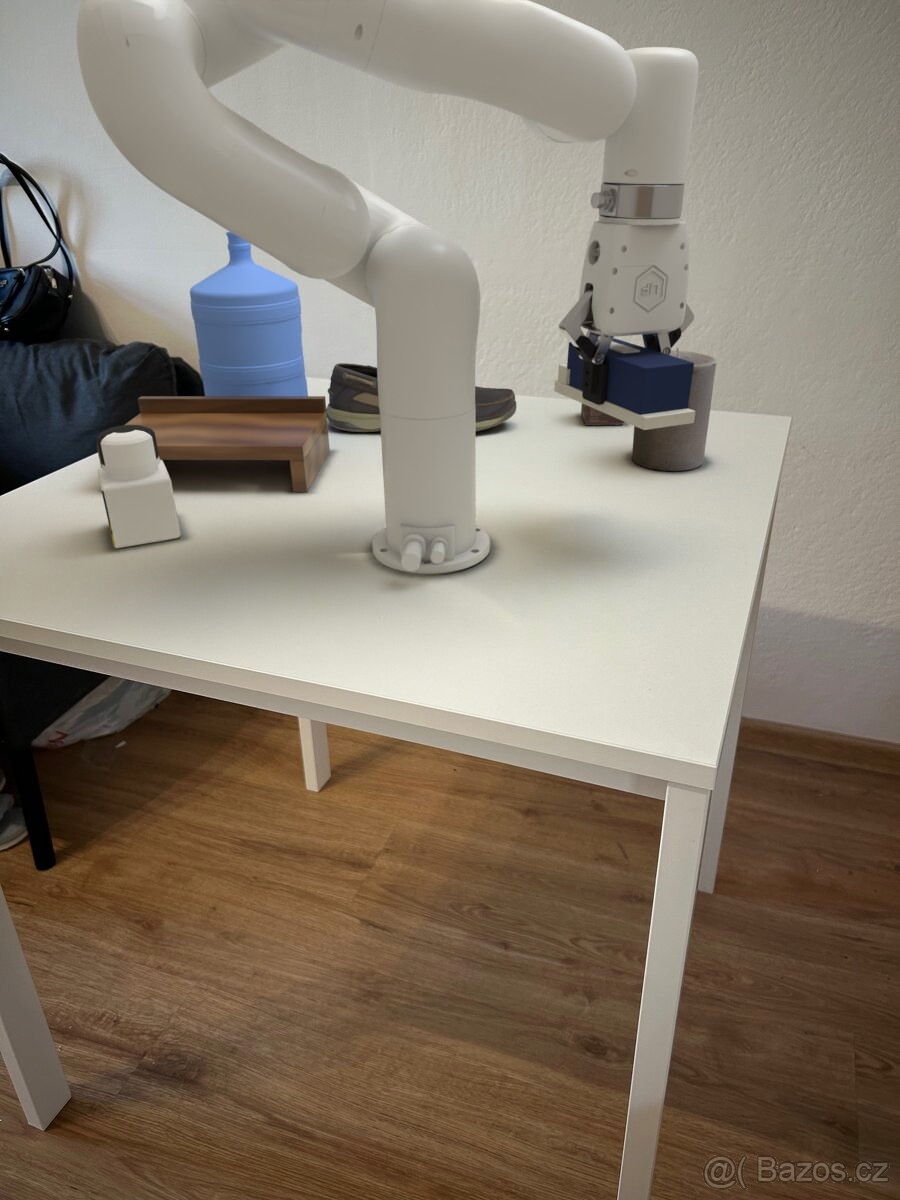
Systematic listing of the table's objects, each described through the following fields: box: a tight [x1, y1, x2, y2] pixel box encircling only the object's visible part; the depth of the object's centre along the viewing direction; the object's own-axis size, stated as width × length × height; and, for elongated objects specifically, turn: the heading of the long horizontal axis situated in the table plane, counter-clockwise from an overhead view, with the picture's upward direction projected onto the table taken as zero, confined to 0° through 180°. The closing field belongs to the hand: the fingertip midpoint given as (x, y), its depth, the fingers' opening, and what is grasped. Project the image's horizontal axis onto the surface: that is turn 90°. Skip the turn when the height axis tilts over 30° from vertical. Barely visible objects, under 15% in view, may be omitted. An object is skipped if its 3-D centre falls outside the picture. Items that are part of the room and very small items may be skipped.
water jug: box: [189, 231, 309, 396], centre depth 127 cm, size 16×16×28 cm
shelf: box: [96, 395, 331, 493], centre depth 114 cm, size 16×26×8 cm, turn 87°
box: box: [580, 403, 625, 426], centre depth 133 cm, size 6×6×7 cm
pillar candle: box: [630, 347, 718, 472], centre depth 114 cm, size 10×10×15 cm
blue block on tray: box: [553, 337, 695, 430], centre depth 87 cm, size 16×6×6 cm, turn 26°
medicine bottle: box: [95, 424, 181, 549], centre depth 95 cm, size 7×7×12 cm
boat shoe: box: [326, 362, 517, 433], centre depth 130 cm, size 11×29×11 cm, turn 89°
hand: (620, 396), depth 88 cm, fingers closed on blue block on tray, 6 cm apart
